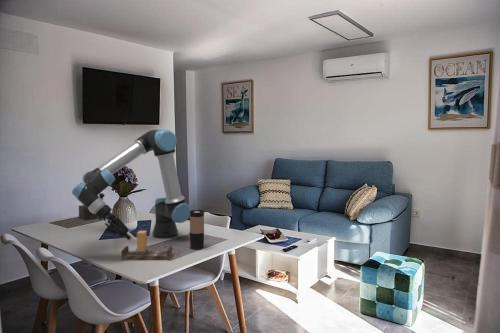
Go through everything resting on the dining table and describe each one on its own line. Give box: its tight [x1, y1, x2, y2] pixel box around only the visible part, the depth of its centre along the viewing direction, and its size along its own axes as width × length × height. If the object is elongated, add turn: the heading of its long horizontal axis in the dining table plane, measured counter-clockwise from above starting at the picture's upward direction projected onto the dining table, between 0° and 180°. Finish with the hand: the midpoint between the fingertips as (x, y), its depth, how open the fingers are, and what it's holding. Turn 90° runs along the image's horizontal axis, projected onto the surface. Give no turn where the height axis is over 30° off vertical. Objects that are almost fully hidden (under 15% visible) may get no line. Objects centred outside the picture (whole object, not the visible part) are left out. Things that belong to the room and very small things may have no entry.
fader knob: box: [135, 230, 149, 255], centre depth 180 cm, size 4×6×10 cm
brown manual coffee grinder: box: [78, 192, 105, 221], centre depth 267 cm, size 16×11×18 cm
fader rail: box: [120, 245, 173, 261], centre depth 180 cm, size 23×8×4 cm, turn 93°
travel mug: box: [189, 209, 205, 251], centre depth 196 cm, size 8×8×20 cm
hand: (135, 242), depth 179 cm, fingers closed
